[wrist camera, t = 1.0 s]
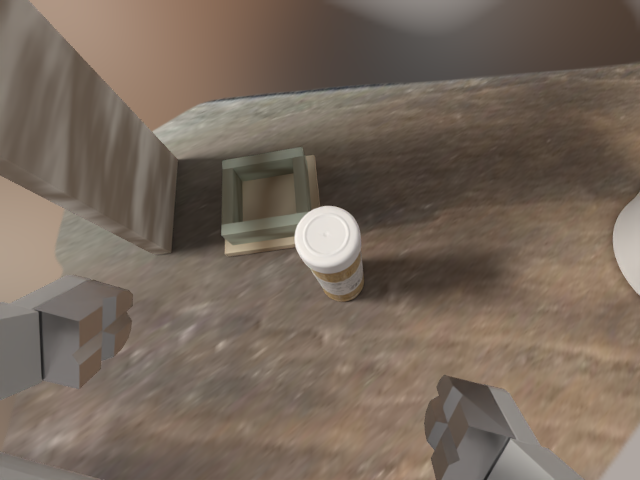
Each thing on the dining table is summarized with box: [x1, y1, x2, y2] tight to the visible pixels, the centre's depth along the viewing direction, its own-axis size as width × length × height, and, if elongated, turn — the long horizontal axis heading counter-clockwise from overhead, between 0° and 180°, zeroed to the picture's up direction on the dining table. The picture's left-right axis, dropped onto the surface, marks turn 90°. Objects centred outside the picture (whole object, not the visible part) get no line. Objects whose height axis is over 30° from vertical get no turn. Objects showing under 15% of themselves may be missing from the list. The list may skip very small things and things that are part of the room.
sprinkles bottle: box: [295, 206, 364, 302], centre depth 29 cm, size 5×5×13 cm
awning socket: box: [0, 0, 320, 257], centre depth 26 cm, size 20×14×32 cm
